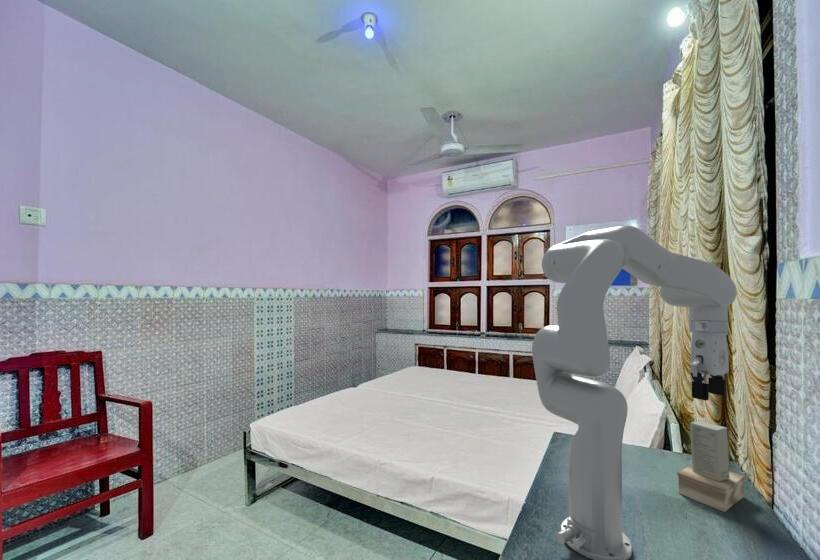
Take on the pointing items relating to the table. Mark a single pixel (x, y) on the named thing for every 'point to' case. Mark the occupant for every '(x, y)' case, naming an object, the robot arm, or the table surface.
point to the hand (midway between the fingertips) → (708, 396)
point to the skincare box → (709, 450)
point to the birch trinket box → (711, 488)
